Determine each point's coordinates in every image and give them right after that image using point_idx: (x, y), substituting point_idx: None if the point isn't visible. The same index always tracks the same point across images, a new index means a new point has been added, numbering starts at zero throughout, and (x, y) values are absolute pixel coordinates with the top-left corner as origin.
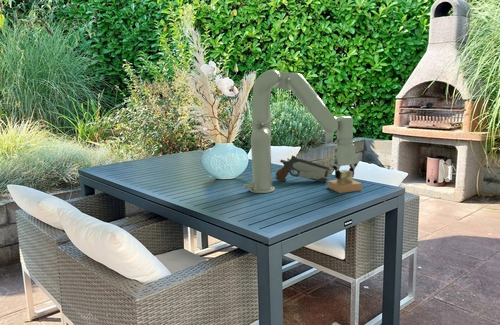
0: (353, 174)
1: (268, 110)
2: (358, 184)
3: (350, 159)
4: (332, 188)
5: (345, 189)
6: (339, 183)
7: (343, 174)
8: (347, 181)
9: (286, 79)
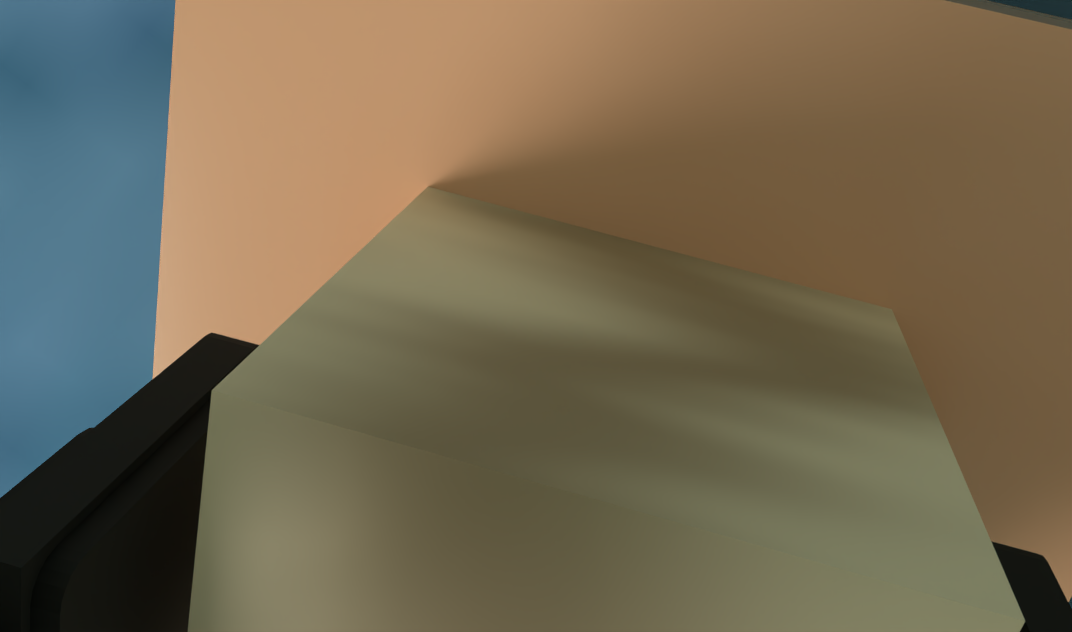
0: (164, 380)
1: None
2: None
3: None
4: None
5: (981, 1)
6: (948, 414)
7: (919, 518)
8: (654, 270)
9: None
